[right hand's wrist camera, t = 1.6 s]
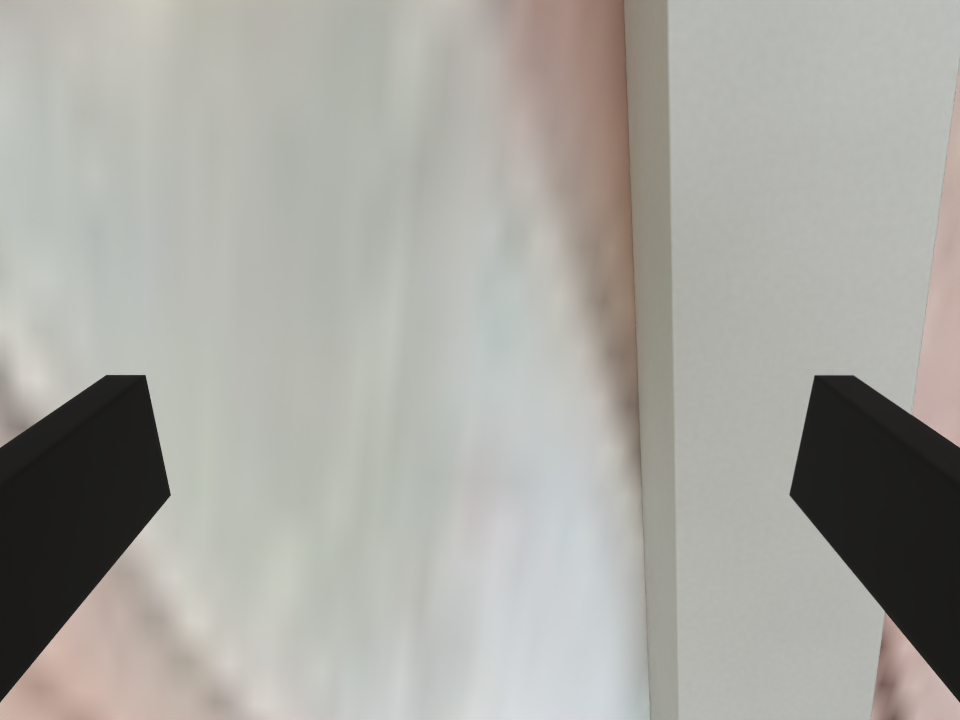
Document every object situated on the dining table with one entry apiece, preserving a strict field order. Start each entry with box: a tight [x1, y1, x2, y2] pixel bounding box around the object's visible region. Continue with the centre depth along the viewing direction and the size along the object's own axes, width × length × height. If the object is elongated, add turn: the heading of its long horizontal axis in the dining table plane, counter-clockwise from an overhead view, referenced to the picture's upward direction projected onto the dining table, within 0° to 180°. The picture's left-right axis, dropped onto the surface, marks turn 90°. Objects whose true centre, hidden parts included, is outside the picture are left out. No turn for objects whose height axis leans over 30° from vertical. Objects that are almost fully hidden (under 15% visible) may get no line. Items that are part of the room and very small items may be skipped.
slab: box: [624, 0, 960, 720], centre depth 32 cm, size 72×10×7 cm, turn 7°
